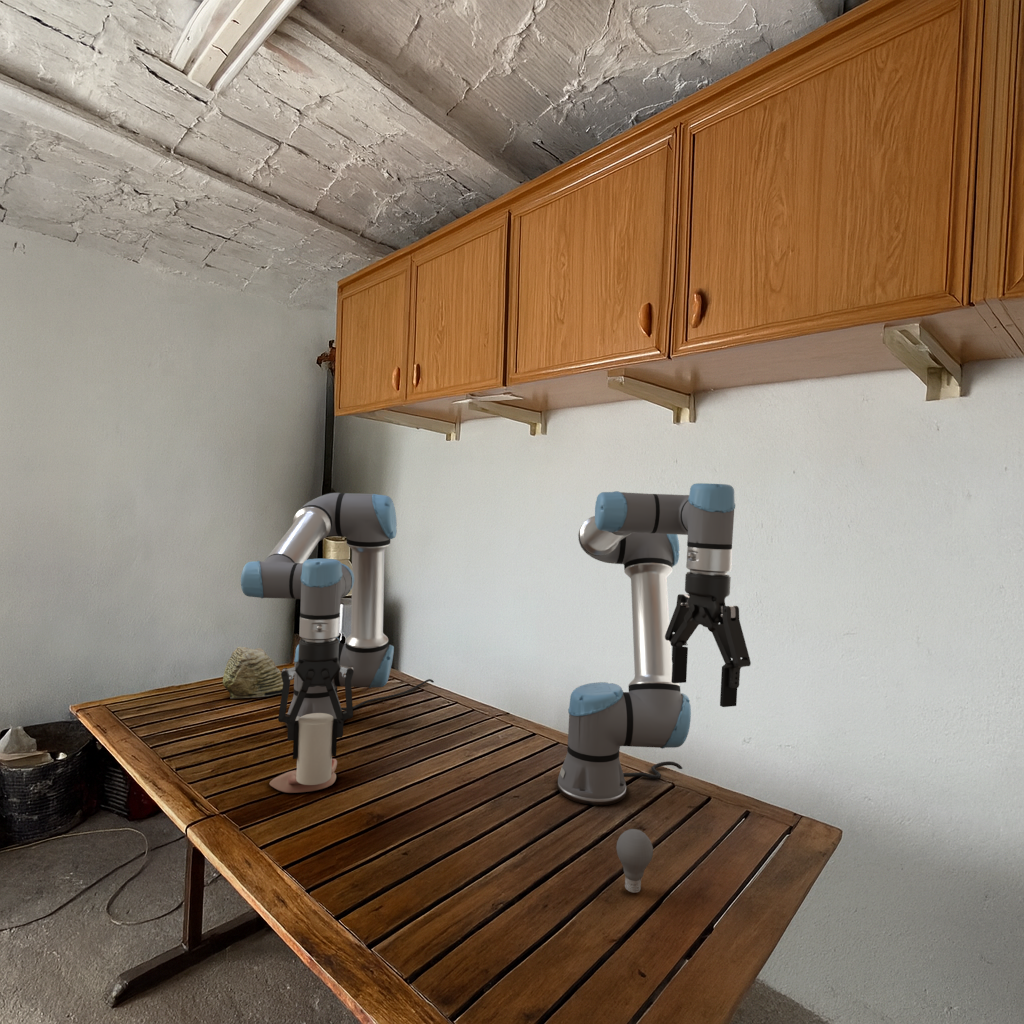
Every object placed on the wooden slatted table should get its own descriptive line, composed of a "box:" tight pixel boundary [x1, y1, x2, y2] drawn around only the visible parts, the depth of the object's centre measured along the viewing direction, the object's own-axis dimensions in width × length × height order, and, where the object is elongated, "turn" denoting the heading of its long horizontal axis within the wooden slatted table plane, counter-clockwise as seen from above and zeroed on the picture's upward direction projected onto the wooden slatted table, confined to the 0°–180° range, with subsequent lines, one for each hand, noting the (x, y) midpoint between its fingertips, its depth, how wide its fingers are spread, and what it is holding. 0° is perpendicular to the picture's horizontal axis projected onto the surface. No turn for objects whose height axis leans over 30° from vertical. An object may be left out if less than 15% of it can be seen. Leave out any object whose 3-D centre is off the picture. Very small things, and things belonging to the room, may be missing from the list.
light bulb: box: [615, 828, 654, 894], centre depth 106 cm, size 6×6×10 cm
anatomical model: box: [269, 758, 338, 794], centre depth 140 cm, size 13×4×12 cm
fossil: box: [222, 646, 283, 699], centre depth 198 cm, size 9×18×15 cm, turn 132°
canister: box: [296, 713, 334, 785], centre depth 124 cm, size 7×7×12 cm
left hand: (314, 754), depth 124 cm, fingers closed on canister, 7 cm apart
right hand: (702, 693), depth 111 cm, fingers open, 13 cm apart
